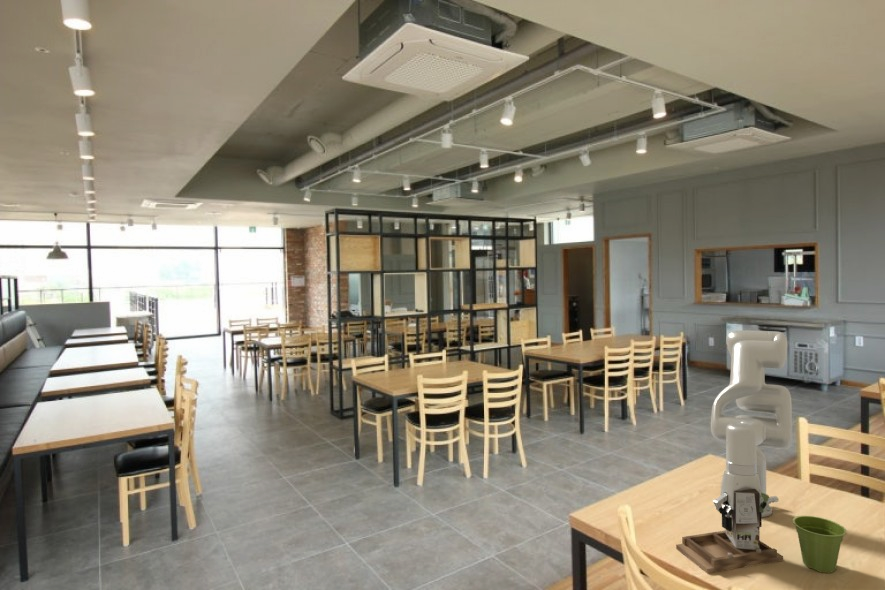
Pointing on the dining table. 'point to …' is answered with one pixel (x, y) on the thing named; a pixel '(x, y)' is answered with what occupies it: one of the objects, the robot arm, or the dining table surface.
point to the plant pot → (819, 541)
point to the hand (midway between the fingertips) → (741, 527)
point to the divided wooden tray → (723, 552)
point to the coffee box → (745, 520)
